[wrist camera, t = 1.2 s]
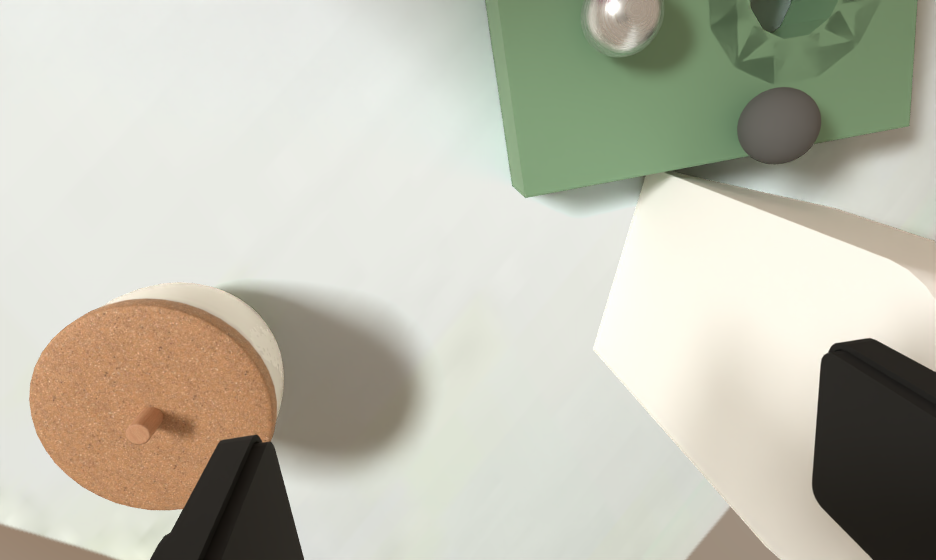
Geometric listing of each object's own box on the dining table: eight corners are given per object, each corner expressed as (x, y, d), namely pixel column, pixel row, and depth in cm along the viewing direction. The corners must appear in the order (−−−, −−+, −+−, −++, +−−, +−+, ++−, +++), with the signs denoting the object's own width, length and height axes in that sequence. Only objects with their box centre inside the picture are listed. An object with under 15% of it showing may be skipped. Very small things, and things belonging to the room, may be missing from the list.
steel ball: (567, -16, 27) (589, -32, 24) (643, -29, 27) (675, -46, 24) (576, 65, 28) (598, 61, 25) (648, 52, 28) (680, 47, 25)
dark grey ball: (722, 93, 29) (762, 94, 26) (791, 81, 29) (840, 80, 26) (724, 165, 30) (763, 174, 27) (791, 152, 30) (838, 160, 27)
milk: (593, 349, 37) (957, 866, 12) (648, 166, 34) (1286, 370, 9) (765, 378, 39) (1383, 880, 14) (833, 207, 36) (1784, 471, 11)
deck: (467, -121, 29) (476, -153, 25) (864, -187, 29) (931, -228, 26) (512, 185, 33) (525, 198, 30) (853, 122, 34) (909, 125, 30)
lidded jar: (237, 225, 33) (172, 275, 24) (335, 379, 36) (310, 474, 27) (69, 309, 33) (-56, 390, 24) (181, 454, 37) (107, 571, 28)
